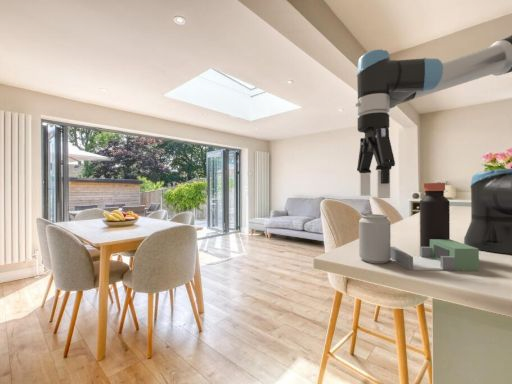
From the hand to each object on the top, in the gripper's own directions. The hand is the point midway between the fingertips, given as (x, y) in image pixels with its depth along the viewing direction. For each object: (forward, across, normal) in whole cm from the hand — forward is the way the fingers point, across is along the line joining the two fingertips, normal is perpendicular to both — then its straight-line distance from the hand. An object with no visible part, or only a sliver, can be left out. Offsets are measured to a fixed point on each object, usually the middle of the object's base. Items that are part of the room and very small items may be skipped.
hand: (373, 196), depth 67 cm
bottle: (+17, -7, +19) cm, 26 cm away
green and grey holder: (+17, +2, +13) cm, 21 cm away
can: (+17, 0, 0) cm, 17 cm away
